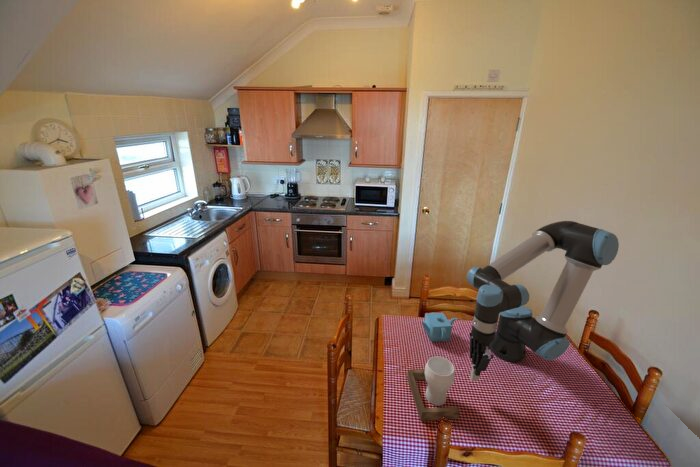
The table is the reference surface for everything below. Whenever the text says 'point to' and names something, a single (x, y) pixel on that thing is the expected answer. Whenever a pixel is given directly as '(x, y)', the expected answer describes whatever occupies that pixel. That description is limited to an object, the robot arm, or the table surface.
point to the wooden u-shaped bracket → (423, 412)
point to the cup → (438, 379)
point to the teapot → (438, 326)
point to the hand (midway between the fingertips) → (474, 379)
